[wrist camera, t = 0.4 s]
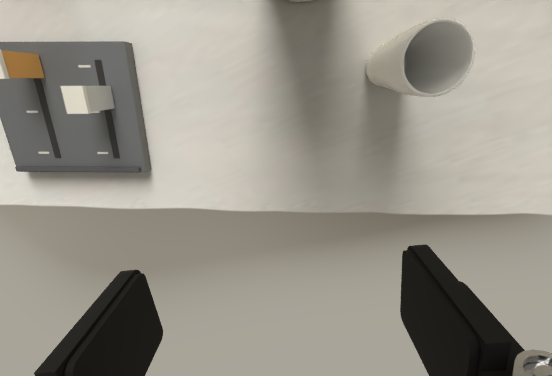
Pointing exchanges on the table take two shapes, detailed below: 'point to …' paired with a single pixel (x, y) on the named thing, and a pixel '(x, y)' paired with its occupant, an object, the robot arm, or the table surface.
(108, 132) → the fader board
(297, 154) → the table surface
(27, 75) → the orange fader
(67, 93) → the grey fader
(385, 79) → the drinking glass
